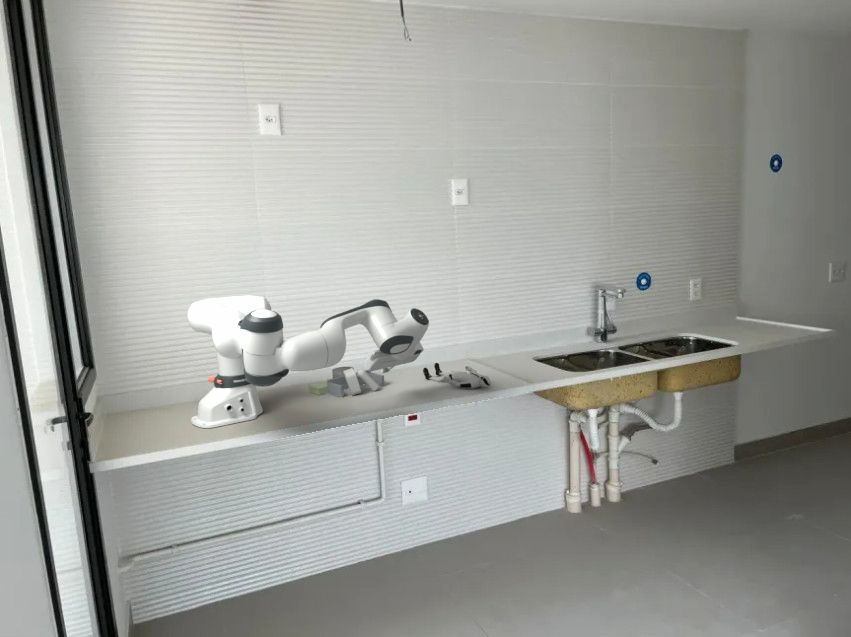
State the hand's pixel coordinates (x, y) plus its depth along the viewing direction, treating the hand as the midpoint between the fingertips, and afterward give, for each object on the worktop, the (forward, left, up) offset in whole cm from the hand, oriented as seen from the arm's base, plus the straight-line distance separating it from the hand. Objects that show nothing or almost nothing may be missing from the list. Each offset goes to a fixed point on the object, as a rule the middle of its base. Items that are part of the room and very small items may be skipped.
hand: (383, 371), depth 214 cm
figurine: (+29, -7, -10) cm, 31 cm away
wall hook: (-1, +12, -10) cm, 16 cm away
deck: (0, +21, -9) cm, 23 cm away
